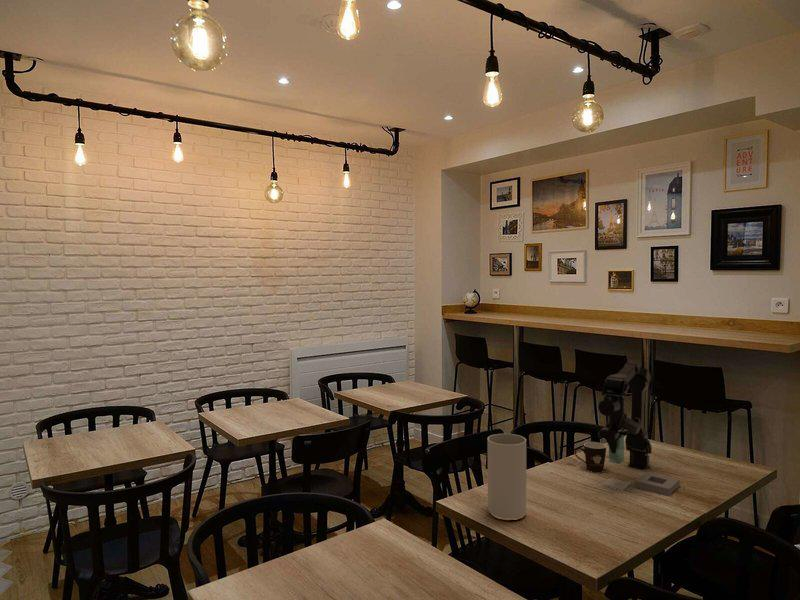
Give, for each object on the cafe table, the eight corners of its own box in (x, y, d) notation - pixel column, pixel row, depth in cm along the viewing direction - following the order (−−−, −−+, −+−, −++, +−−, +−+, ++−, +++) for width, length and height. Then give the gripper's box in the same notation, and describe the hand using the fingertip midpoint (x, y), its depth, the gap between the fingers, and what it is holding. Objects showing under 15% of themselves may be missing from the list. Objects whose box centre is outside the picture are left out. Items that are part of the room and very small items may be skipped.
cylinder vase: (481, 515, 180) (480, 440, 179) (498, 502, 190) (498, 431, 189) (516, 525, 173) (515, 447, 172) (532, 511, 183) (532, 437, 182)
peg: (608, 461, 204) (608, 434, 204) (613, 458, 207) (613, 432, 207) (619, 463, 202) (619, 437, 201) (623, 461, 205) (623, 434, 204)
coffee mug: (608, 468, 222) (608, 444, 222) (603, 475, 215) (603, 449, 215) (579, 463, 228) (579, 439, 228) (573, 469, 221) (573, 445, 221)
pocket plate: (634, 487, 202) (634, 480, 202) (646, 478, 211) (646, 471, 211) (669, 495, 194) (669, 488, 194) (679, 486, 203) (679, 479, 203)
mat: (601, 485, 205) (601, 483, 205) (609, 479, 211) (609, 478, 210) (622, 490, 199) (622, 489, 199) (630, 484, 205) (630, 483, 205)
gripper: (628, 419, 191) (628, 463, 192) (647, 409, 205) (647, 450, 206) (597, 414, 199) (597, 456, 200) (617, 404, 213) (617, 444, 213)
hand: (616, 451), depth 204 cm, fingers closed on peg, 4 cm apart
